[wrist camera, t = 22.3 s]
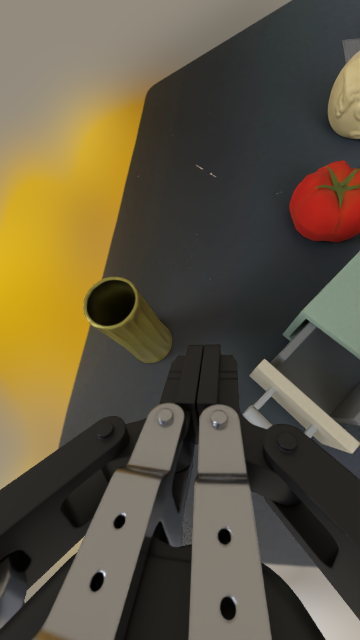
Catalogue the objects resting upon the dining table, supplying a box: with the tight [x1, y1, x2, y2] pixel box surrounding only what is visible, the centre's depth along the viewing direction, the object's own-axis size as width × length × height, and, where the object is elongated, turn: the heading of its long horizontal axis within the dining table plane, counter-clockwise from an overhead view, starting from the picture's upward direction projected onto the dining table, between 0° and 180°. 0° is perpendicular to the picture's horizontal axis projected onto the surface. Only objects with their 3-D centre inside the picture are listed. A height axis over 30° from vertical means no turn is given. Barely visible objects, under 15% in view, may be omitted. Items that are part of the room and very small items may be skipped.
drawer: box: [243, 321, 360, 454], centre depth 27 cm, size 17×10×7 cm, turn 133°
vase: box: [84, 277, 172, 363], centre depth 29 cm, size 6×6×14 cm
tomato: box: [289, 160, 360, 243], centre depth 34 cm, size 11×11×8 cm
